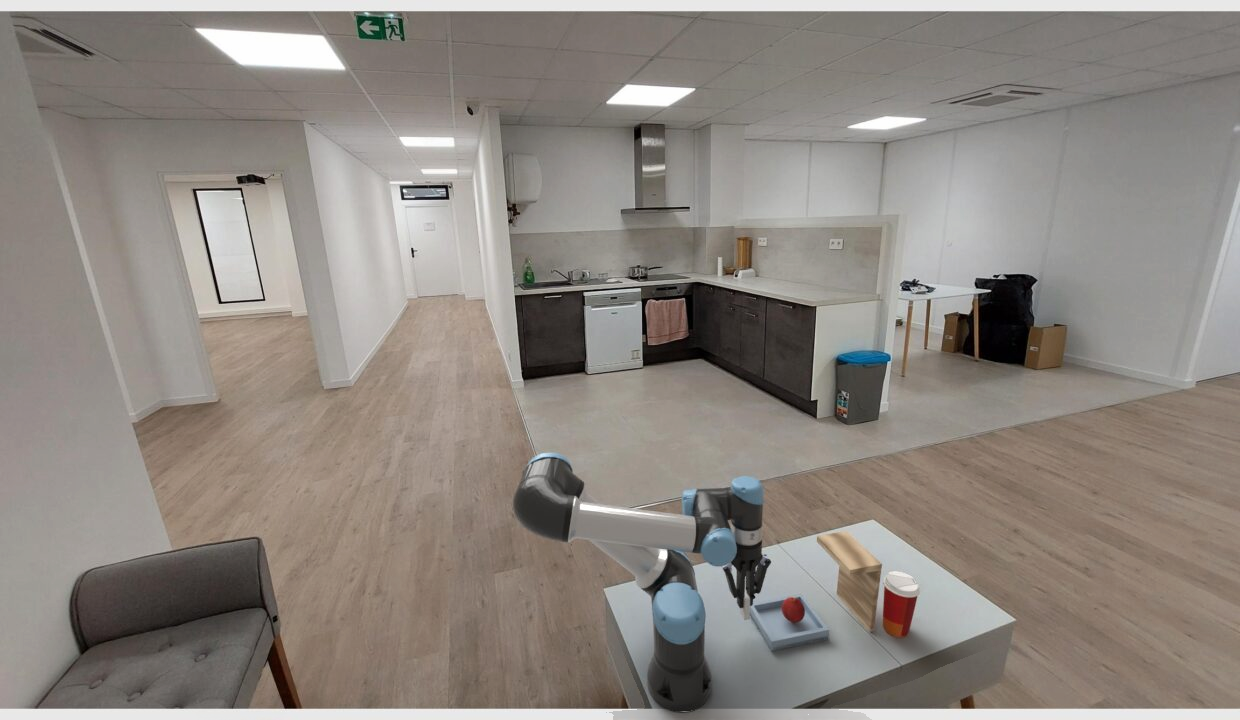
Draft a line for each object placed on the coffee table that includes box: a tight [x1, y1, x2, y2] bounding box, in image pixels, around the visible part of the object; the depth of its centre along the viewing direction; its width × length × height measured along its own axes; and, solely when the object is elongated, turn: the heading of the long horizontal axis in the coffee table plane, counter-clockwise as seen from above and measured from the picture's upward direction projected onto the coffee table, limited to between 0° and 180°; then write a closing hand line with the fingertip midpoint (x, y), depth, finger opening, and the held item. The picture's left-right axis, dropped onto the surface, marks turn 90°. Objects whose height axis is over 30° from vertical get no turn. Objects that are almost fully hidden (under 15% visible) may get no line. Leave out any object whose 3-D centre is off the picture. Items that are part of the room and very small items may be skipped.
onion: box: [782, 597, 805, 623], centre depth 129 cm, size 6×6×8 cm
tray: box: [750, 593, 830, 652], centre depth 129 cm, size 16×13×3 cm
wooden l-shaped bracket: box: [816, 530, 883, 633], centre depth 130 cm, size 9×14×21 cm, turn 11°
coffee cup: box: [882, 570, 921, 639], centre depth 125 cm, size 8×8×15 cm
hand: (744, 615), depth 126 cm, fingers closed
